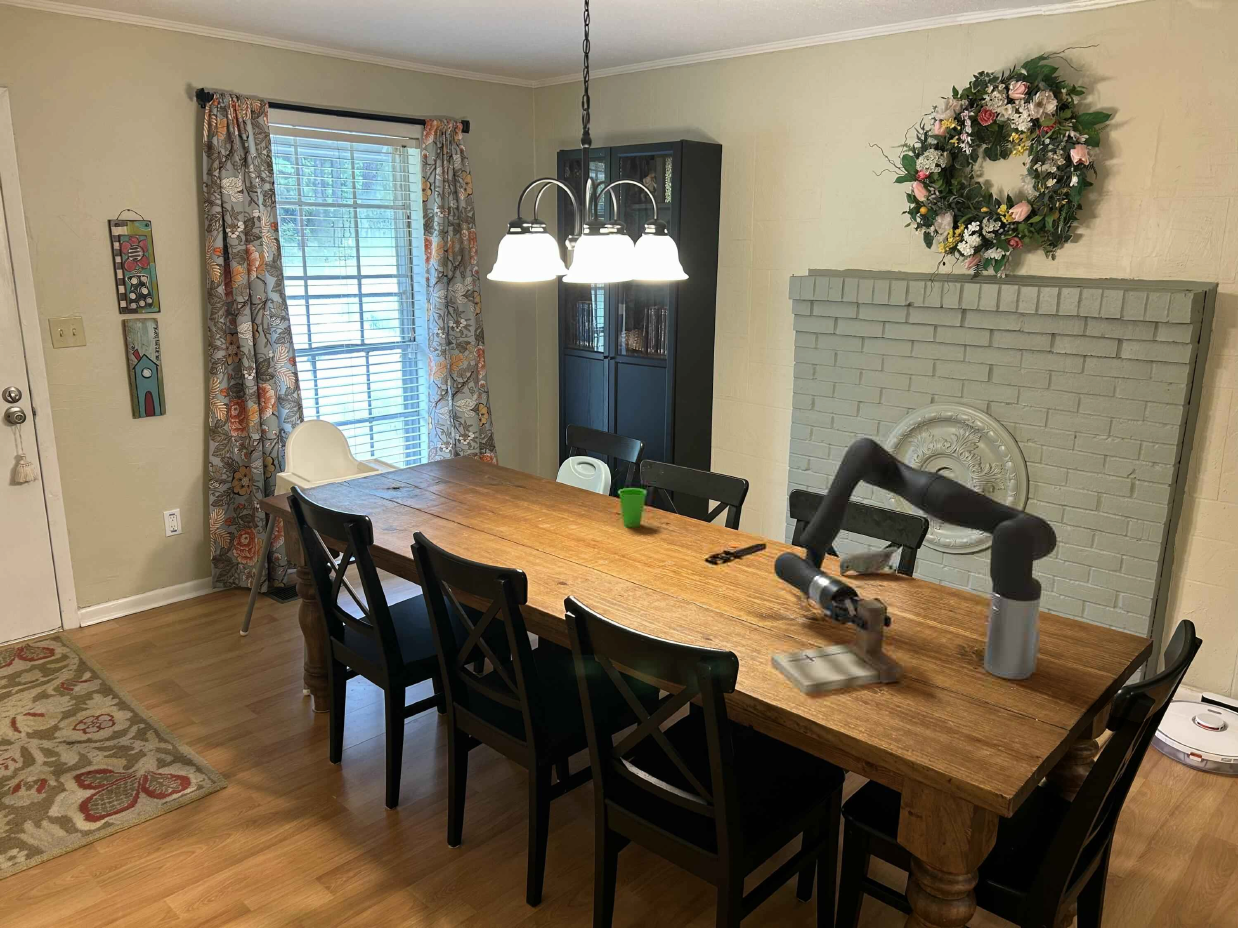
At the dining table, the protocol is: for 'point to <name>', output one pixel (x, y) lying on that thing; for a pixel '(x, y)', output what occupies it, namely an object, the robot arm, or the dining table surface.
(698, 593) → the dining table surface
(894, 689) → the dining table surface
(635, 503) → the cup
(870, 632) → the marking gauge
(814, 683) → the maple board
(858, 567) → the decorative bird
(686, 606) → the dining table surface
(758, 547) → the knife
